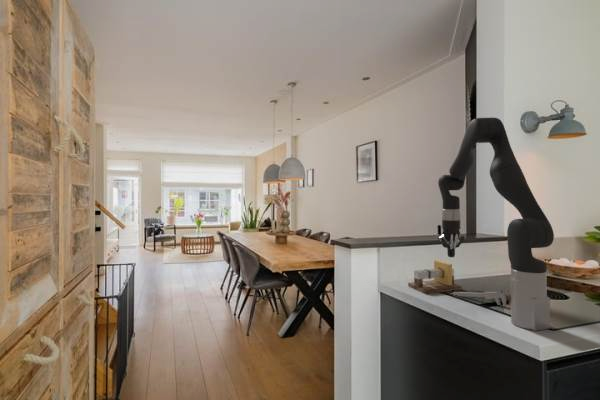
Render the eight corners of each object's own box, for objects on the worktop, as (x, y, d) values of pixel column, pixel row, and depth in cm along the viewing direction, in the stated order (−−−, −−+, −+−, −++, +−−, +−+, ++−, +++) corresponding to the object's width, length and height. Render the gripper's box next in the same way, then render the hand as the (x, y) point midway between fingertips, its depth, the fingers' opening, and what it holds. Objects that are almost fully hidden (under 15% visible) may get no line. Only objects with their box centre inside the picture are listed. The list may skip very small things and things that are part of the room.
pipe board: (461, 289, 142) (461, 278, 142) (425, 293, 137) (425, 282, 137) (442, 282, 154) (442, 272, 154) (408, 286, 149) (408, 275, 149)
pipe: (454, 276, 146) (454, 268, 146) (418, 279, 142) (418, 272, 141) (449, 274, 150) (448, 267, 149) (414, 278, 145) (413, 270, 145)
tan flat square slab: (452, 285, 143) (452, 264, 143) (448, 285, 142) (448, 264, 142) (438, 279, 151) (437, 260, 151) (434, 280, 151) (434, 260, 151)
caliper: (506, 307, 121) (506, 290, 121) (505, 308, 120) (505, 290, 120) (451, 294, 137) (451, 279, 137) (450, 295, 136) (450, 279, 136)
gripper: (444, 220, 146) (444, 259, 146) (469, 219, 149) (469, 257, 150) (433, 218, 153) (433, 256, 153) (457, 217, 156) (457, 254, 157)
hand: (451, 257), depth 151 cm, fingers closed
